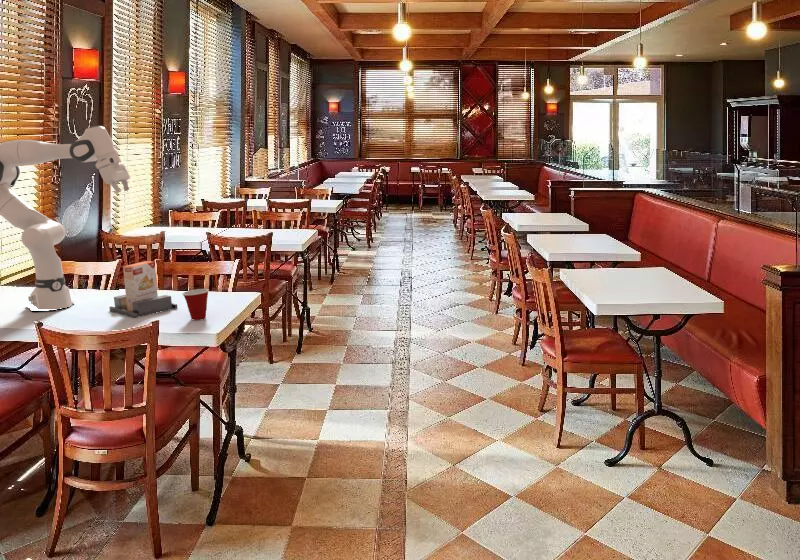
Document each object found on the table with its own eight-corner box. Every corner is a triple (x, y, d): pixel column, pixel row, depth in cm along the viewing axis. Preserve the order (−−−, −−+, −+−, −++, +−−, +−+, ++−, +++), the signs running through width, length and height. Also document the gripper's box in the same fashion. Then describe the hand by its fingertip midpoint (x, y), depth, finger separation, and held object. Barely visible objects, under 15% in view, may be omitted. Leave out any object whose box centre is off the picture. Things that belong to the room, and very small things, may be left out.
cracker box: (138, 314, 312) (132, 266, 308) (127, 313, 314) (121, 266, 310) (159, 306, 325) (155, 261, 321) (149, 306, 327) (144, 260, 323)
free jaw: (115, 310, 320) (113, 297, 319) (147, 303, 332) (146, 290, 331) (121, 311, 317) (119, 298, 316) (153, 304, 329) (152, 291, 328)
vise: (109, 311, 319) (108, 298, 318) (150, 302, 334) (149, 289, 333) (136, 318, 305) (134, 304, 304) (177, 308, 320) (176, 295, 319)
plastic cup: (193, 314, 308) (191, 287, 306) (216, 315, 305) (213, 288, 303) (179, 321, 298) (176, 293, 296) (202, 322, 295) (199, 294, 293)
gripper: (112, 163, 325) (125, 191, 328) (93, 165, 305) (107, 196, 308) (125, 158, 325) (138, 187, 327) (106, 160, 305) (120, 190, 307)
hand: (123, 191), depth 317 cm, fingers open, 8 cm apart
